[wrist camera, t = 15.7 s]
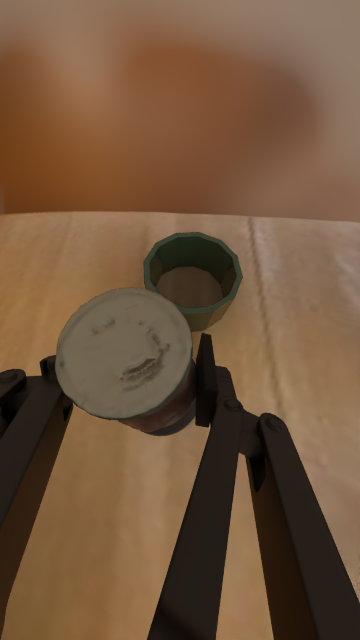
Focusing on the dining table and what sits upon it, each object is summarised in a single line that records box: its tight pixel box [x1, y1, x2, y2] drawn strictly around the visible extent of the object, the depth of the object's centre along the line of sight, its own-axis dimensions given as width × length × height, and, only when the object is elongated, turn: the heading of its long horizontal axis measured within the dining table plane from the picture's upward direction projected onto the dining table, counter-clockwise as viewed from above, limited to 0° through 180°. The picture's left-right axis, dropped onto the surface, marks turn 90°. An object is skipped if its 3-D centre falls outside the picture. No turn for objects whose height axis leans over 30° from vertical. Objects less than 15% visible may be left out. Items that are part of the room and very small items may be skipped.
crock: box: [144, 232, 243, 331], centre depth 29 cm, size 13×13×7 cm
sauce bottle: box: [55, 287, 198, 432], centre depth 14 cm, size 6×6×20 cm
